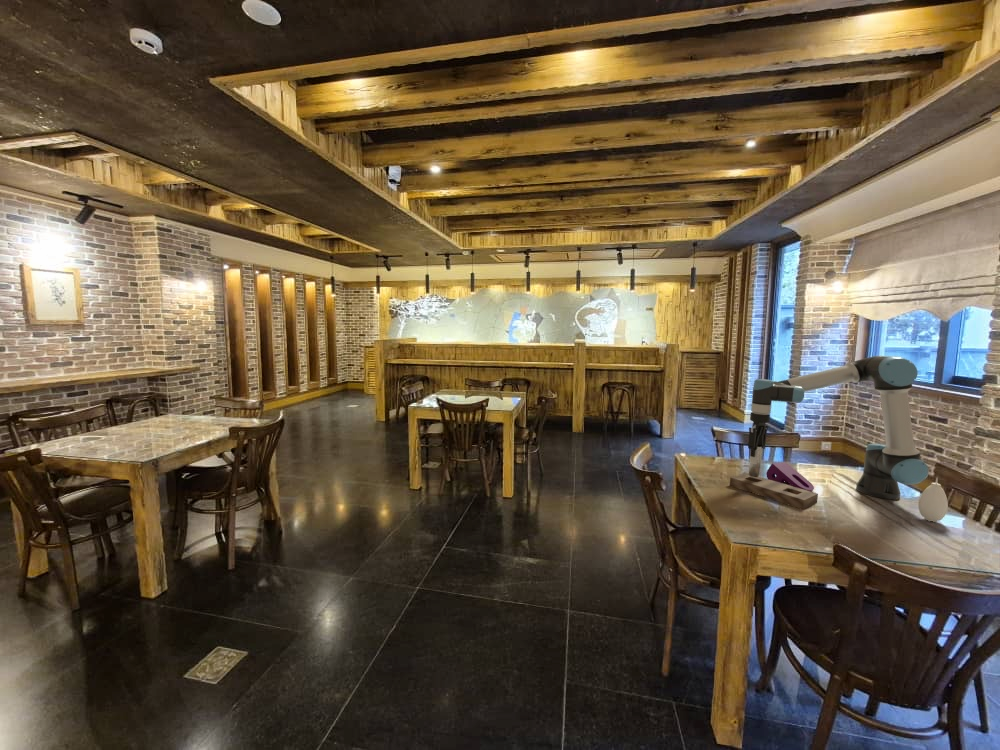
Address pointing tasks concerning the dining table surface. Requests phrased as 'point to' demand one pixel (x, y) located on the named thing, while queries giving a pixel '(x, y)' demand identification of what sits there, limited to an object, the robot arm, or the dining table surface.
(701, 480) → the dining table surface
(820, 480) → the dining table surface
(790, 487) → the mount plate
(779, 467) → the mounting bracket
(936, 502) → the white rounded egg-shaped figurine
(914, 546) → the dining table surface
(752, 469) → the steel pin
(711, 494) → the dining table surface
